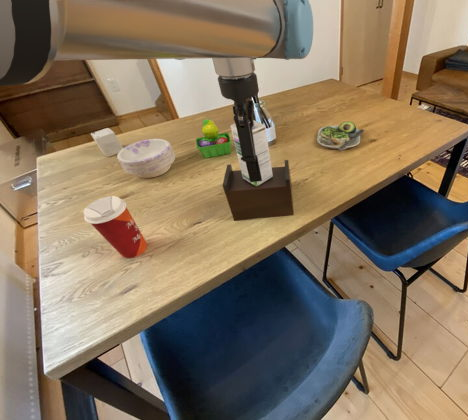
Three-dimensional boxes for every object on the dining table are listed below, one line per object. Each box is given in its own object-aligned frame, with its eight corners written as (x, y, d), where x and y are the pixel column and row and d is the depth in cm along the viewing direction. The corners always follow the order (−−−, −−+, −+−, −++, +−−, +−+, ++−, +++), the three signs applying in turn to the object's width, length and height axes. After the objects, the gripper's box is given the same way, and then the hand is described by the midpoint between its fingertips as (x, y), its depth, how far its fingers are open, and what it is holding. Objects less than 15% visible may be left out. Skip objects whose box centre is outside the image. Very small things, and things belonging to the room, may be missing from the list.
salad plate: (363, 155, 97) (364, 144, 94) (313, 153, 99) (312, 141, 96) (363, 130, 112) (364, 119, 108) (320, 128, 113) (319, 117, 110)
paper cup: (157, 248, 67) (128, 205, 57) (123, 267, 63) (86, 224, 53) (144, 232, 71) (116, 189, 61) (111, 249, 67) (75, 206, 57)
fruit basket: (201, 161, 96) (190, 131, 88) (199, 149, 102) (189, 119, 94) (234, 154, 99) (226, 124, 91) (231, 143, 105) (223, 114, 97)
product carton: (125, 151, 101) (114, 132, 96) (107, 157, 98) (95, 138, 93) (119, 145, 104) (108, 127, 99) (101, 151, 101) (89, 133, 96)
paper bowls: (154, 154, 99) (145, 134, 94) (188, 162, 95) (180, 141, 89) (117, 177, 89) (104, 156, 83) (153, 188, 84) (142, 166, 79)
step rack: (293, 215, 75) (289, 179, 67) (233, 220, 74) (222, 185, 66) (291, 182, 86) (287, 148, 78) (239, 186, 85) (229, 152, 76)
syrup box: (242, 178, 71) (228, 125, 61) (259, 168, 74) (249, 116, 64) (256, 187, 68) (244, 133, 58) (274, 176, 71) (265, 123, 61)
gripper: (253, 91, 47) (271, 195, 62) (258, 58, 62) (272, 148, 77) (207, 93, 46) (237, 198, 61) (224, 60, 61) (245, 150, 77)
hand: (256, 170), depth 69 cm, fingers closed on syrup box, 8 cm apart
